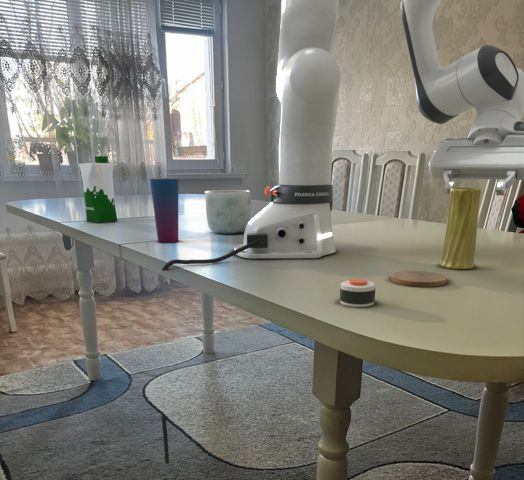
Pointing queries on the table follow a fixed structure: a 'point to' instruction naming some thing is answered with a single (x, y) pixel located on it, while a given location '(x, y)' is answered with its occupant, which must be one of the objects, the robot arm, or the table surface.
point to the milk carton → (99, 190)
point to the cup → (165, 208)
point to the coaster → (419, 278)
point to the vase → (461, 229)
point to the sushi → (357, 293)
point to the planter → (228, 210)
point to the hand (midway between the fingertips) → (473, 192)
